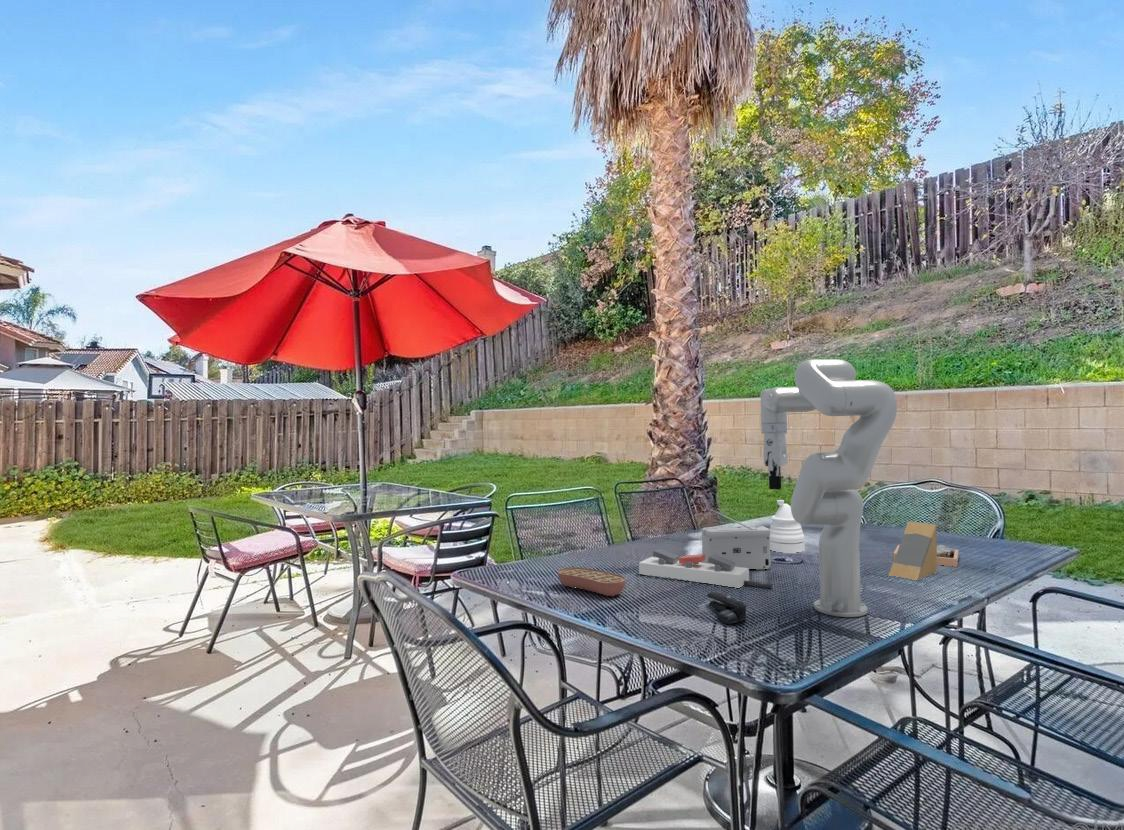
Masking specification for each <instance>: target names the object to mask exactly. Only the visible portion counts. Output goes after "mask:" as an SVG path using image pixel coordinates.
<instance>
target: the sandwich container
mask: <svg viewBox="0 0 1124 830" xmlns="http://www.w3.org/2000/svg"><path fill="white" fill-rule="evenodd" d="M937 529H938V527H937V525H936V524H932V523H926V522H925V523H924V522H917V521H907V523H906V526H905V530H904V533H903V535H902V539H901V541H900V544H899V545H900V546H899V549H898V551H897V554H896V557H895V559H894V558H893V562H892V564H891V567H890V570H889V572H888V575H889V576H896V577H902V578H908V579H912V580H918V579H920V578H923V577H926V576H927V575H930V574H932V575H934V574H936V573H937V571H938V569H937V568H938V565H937V546H938V543H937V541H938V539H937V537H938V534H937V532H938V531H937ZM935 572H936V573H935ZM933 573H934V574H933ZM889 576H888V577H889ZM930 576H931V575H930ZM926 578H927V577H926ZM923 579H924V578H923ZM918 581H919V580H918Z"/></svg>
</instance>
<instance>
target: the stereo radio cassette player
mask: <svg viewBox="0 0 1124 830" xmlns="http://www.w3.org/2000/svg"><path fill="white" fill-rule="evenodd" d="M710 511H712V512H714V513H716V514H718V515H721V516H722V517H724V518H726V519H728V520H730V521H732V522H734V523H737V524H739V525H740V526H714V527H703V528H702V529H701V550H702V551H701V552H702V553H701V554H705V560H704V561H702V563H708V564H711V563H709V562H708V559H709V557H710V556H712V555H713V554H714V555H717V556H719V557H722V558H725V559H727V560H730V561H732V562H735V567H742V568H749V569H756V570H765V569H767V570H769V568H770V567H771V551H770V528H768V527H766V526H764V525H757V526H756V525H752V526H751V525H749V526H748V525H746V524H744V523H742V522H740V521H738V520H735V519H733V518H731V517H728V516H727V515H724V514H722V513H720V512H718V511H715V510H713V509H712V508H711V509H710Z"/></svg>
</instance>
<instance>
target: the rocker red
mask: <svg viewBox="0 0 1124 830" xmlns="http://www.w3.org/2000/svg"><path fill="white" fill-rule="evenodd" d="M678 560H679V564H681V563H686V562H692V563H697V562H700V563H703V561H704V560H705V554H702V553H701V554H689V555H682V556H681V557H680V556H679V559H678Z"/></svg>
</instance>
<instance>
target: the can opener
mask: <svg viewBox="0 0 1124 830" xmlns="http://www.w3.org/2000/svg"><path fill="white" fill-rule="evenodd" d="M706 597H708V598H710V599H712V600H710V602H709V603H708V605H709V607H711V606H712V607H713V608H712V607H711V608H712V609H714V608H715V610H716V609H717V611H720V612H718V613H717V614H716V616H717V619H718V618H719V619H718V620H719V621H720V620H721V621H720V622H722V623H723V622H724V624H725V625H728V624H733V623H734V624H735V623H740V622H743V621H745V620H746V619H747V616H746V615H747V603H746V601H739V600H738V599H735V598H733V597H732V596H731V595H726V594H723V593H719V592H712V591H710V592H708V593H707V594H706Z"/></svg>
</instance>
